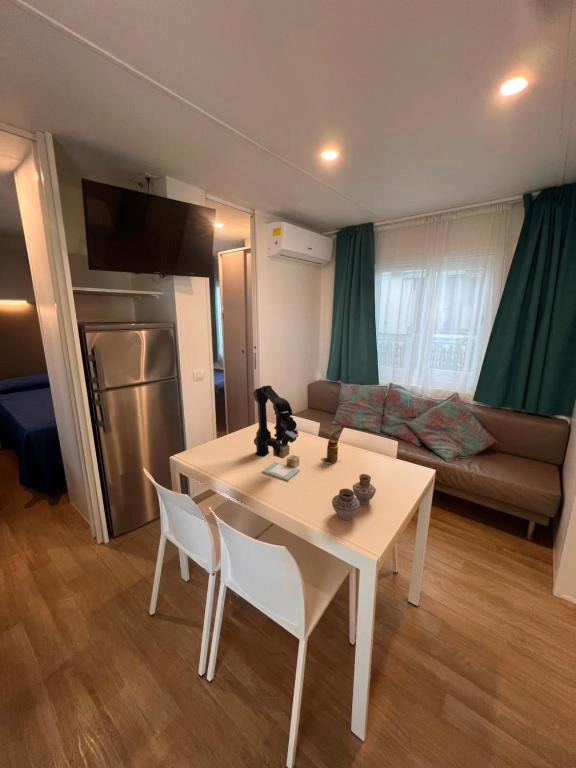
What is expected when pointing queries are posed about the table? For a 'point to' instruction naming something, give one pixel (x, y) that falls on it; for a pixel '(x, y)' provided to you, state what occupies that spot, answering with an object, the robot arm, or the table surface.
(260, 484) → the table surface
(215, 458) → the table surface
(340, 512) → the pottery
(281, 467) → the base board
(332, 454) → the condiment
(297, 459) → the oak cube
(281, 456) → the walnut block
